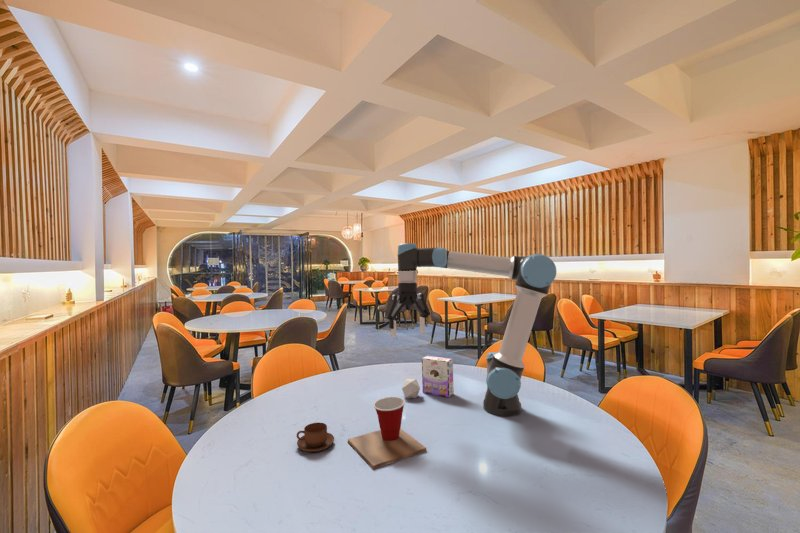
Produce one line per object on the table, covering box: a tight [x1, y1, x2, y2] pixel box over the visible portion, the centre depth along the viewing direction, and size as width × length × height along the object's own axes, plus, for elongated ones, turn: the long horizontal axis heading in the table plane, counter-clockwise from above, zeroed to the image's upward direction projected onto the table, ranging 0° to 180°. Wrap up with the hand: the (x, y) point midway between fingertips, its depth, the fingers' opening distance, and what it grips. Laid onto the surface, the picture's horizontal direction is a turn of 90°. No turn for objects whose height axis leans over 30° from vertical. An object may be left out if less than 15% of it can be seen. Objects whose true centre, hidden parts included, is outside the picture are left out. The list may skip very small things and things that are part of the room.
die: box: [401, 378, 421, 399], centre depth 160 cm, size 8×9×10 cm
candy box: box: [421, 355, 455, 398], centre depth 164 cm, size 14×6×16 cm, turn 58°
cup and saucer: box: [296, 422, 335, 453], centre depth 117 cm, size 12×12×6 cm
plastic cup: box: [373, 396, 406, 441], centre depth 120 cm, size 11×11×12 cm
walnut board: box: [347, 428, 427, 470], centre depth 115 cm, size 19×19×1 cm
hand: (408, 335), depth 141 cm, fingers open, 13 cm apart
